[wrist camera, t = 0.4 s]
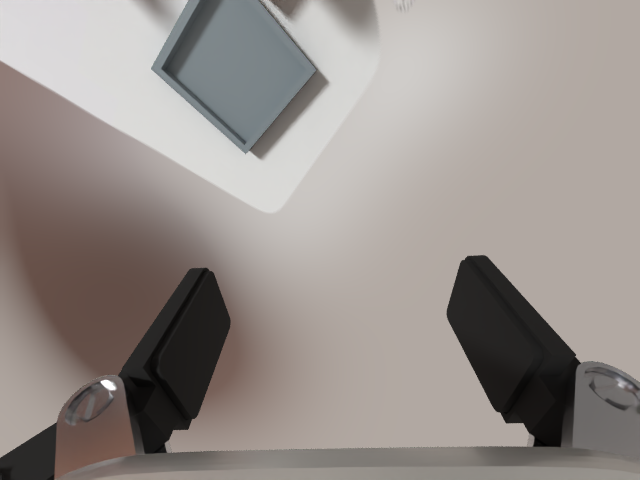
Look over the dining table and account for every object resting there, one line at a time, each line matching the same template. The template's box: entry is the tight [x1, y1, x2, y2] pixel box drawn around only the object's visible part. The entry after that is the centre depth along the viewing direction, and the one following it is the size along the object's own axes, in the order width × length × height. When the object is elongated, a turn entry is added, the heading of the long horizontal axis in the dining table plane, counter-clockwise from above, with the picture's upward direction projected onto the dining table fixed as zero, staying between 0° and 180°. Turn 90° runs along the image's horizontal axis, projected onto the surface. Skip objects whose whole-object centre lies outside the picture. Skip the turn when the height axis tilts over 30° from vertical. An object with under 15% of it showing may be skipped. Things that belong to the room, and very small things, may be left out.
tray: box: [151, 0, 316, 154], centre depth 30 cm, size 13×13×2 cm
